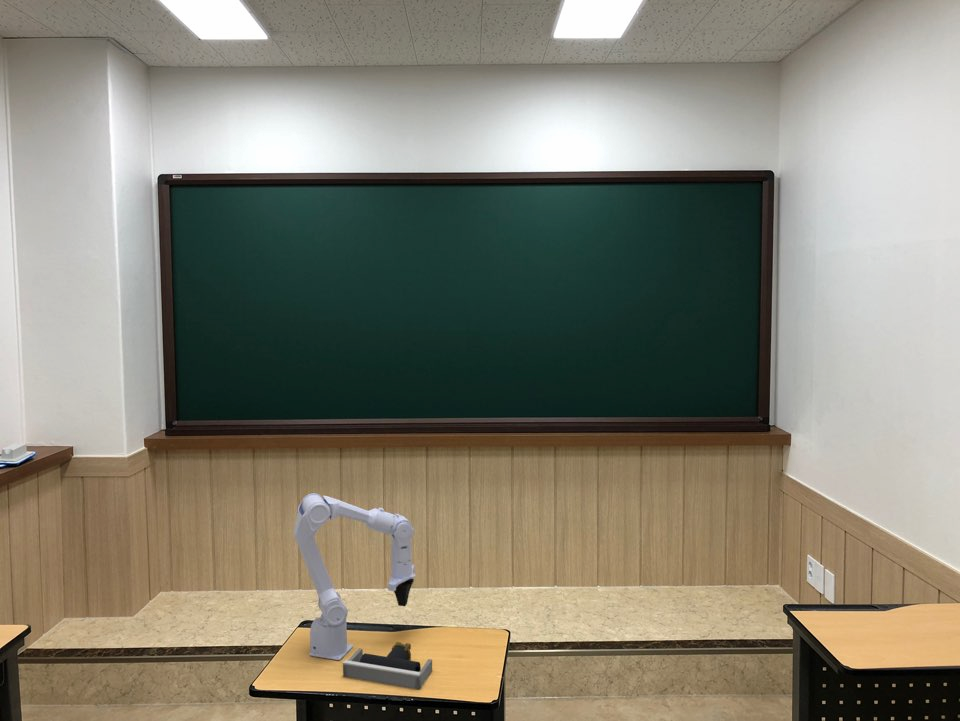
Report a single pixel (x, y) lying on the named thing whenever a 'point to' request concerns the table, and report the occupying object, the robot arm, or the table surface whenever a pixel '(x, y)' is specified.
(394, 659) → the pipe connector
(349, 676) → the bracket
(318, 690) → the table surface
